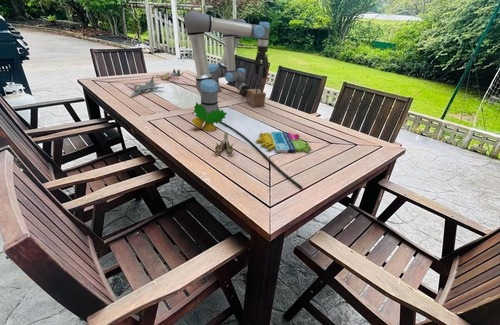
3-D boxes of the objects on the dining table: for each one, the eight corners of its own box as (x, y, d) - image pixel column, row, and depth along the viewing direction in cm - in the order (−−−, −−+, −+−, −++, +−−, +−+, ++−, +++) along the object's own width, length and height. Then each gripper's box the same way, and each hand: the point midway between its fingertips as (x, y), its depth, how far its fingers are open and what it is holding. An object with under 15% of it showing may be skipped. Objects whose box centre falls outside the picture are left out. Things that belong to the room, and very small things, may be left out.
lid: (265, 95, 207) (266, 84, 203) (254, 95, 203) (255, 84, 199) (258, 90, 219) (259, 79, 215) (247, 90, 215) (247, 80, 211)
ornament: (218, 133, 171) (224, 110, 169) (221, 134, 163) (227, 111, 161) (186, 125, 162) (192, 101, 160) (189, 126, 155) (195, 101, 153)
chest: (264, 106, 212) (265, 94, 208) (253, 107, 209) (253, 95, 204) (257, 101, 224) (258, 90, 219) (246, 102, 220) (247, 90, 215)
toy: (188, 70, 290) (175, 74, 264) (188, 76, 294) (176, 81, 268) (165, 67, 295) (150, 71, 269) (166, 74, 299) (151, 78, 273)
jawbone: (234, 135, 144) (233, 125, 135) (233, 160, 138) (232, 151, 129) (217, 135, 144) (216, 125, 135) (216, 160, 138) (214, 150, 129)
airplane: (124, 87, 237) (122, 75, 232) (159, 84, 250) (158, 74, 245) (128, 99, 208) (126, 87, 203) (168, 96, 222) (167, 84, 217)
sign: (313, 150, 142) (258, 149, 139) (312, 153, 143) (258, 152, 140) (301, 132, 164) (254, 130, 161) (301, 134, 165) (254, 133, 162)
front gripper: (275, 48, 181) (272, 79, 192) (260, 44, 201) (258, 72, 211) (265, 47, 179) (262, 79, 189) (251, 43, 198) (249, 72, 209)
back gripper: (256, 92, 240) (267, 99, 223) (231, 93, 231) (239, 100, 214) (257, 84, 236) (267, 90, 219) (231, 85, 227) (240, 91, 210)
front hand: (260, 76), depth 200 cm, fingers open, 13 cm apart
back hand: (254, 95), depth 217 cm, fingers open, 13 cm apart
